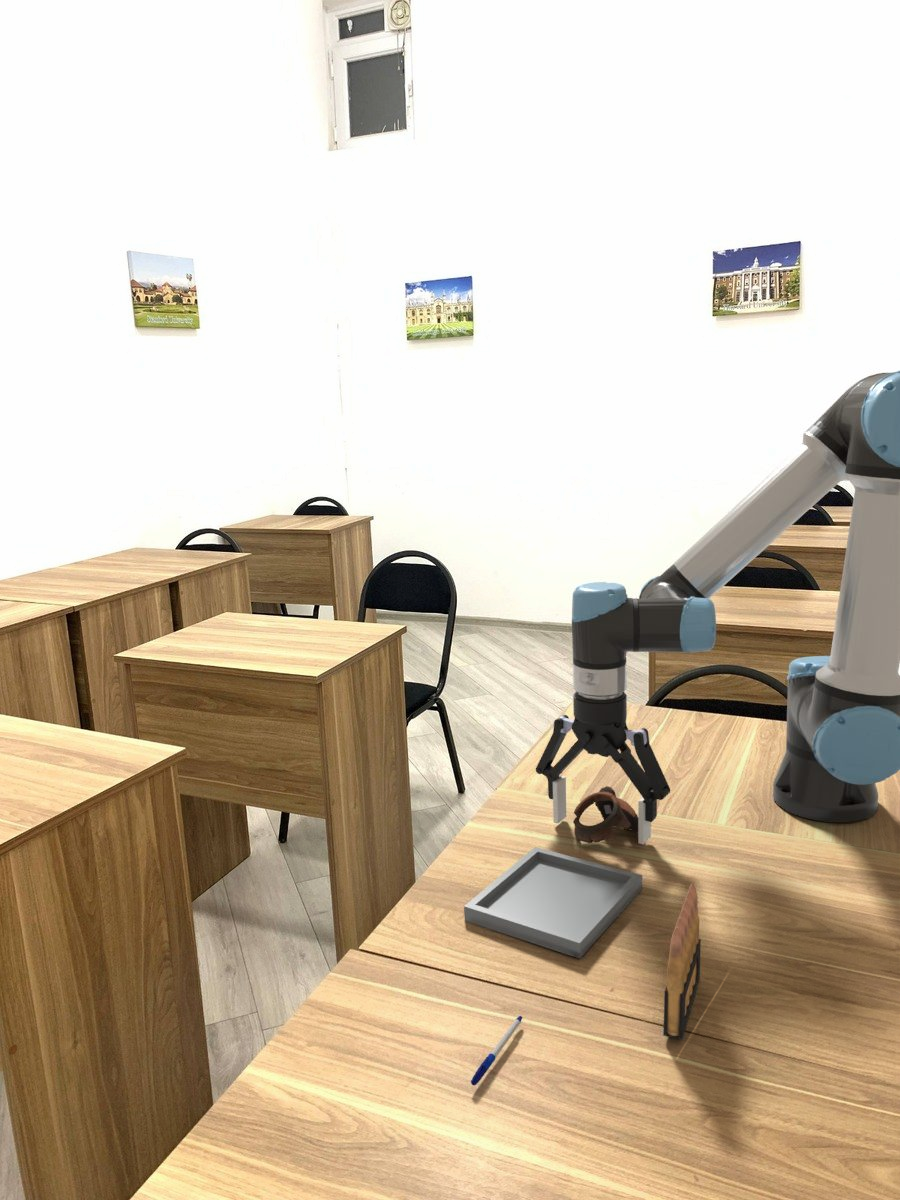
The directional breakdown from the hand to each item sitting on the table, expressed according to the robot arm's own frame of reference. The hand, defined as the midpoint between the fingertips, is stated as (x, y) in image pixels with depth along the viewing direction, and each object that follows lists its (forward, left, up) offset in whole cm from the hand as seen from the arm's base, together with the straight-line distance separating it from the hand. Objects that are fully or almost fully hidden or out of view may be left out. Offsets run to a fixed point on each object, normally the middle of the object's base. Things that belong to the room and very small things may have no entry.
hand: (601, 829), depth 136 cm
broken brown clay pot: (-1, 0, -1) cm, 2 cm away
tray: (-3, +20, -1) cm, 20 cm away
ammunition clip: (-24, +31, -1) cm, 39 cm away
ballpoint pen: (-11, +47, -2) cm, 48 cm away
